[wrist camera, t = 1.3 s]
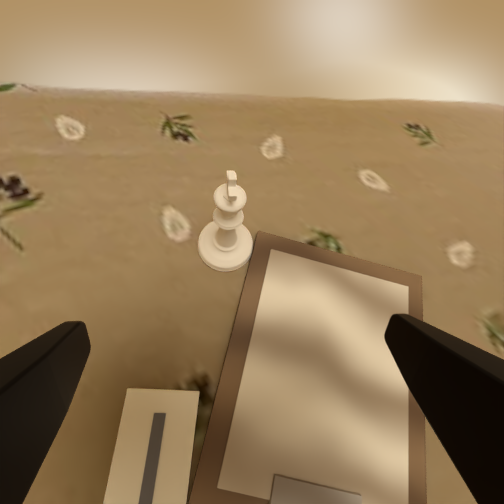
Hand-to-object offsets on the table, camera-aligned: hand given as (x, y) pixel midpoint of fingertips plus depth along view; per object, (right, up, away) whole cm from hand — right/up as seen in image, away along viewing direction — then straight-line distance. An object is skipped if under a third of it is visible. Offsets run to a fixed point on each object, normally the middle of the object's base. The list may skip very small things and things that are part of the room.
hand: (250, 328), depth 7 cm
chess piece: (-2, +3, +15) cm, 16 cm away
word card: (-6, -11, +9) cm, 16 cm away
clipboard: (+6, -7, +13) cm, 16 cm away
